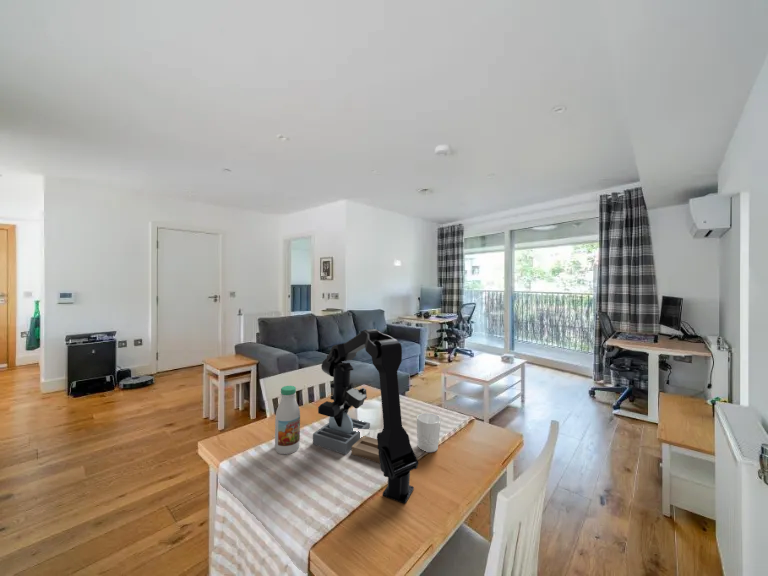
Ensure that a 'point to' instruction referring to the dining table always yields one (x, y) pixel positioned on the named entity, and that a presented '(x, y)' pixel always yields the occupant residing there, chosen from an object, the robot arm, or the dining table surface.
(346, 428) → the plate
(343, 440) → the dish rack
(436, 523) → the dining table surface
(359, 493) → the dining table surface
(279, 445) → the milk bottle
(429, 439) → the white cup
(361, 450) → the plate stand
